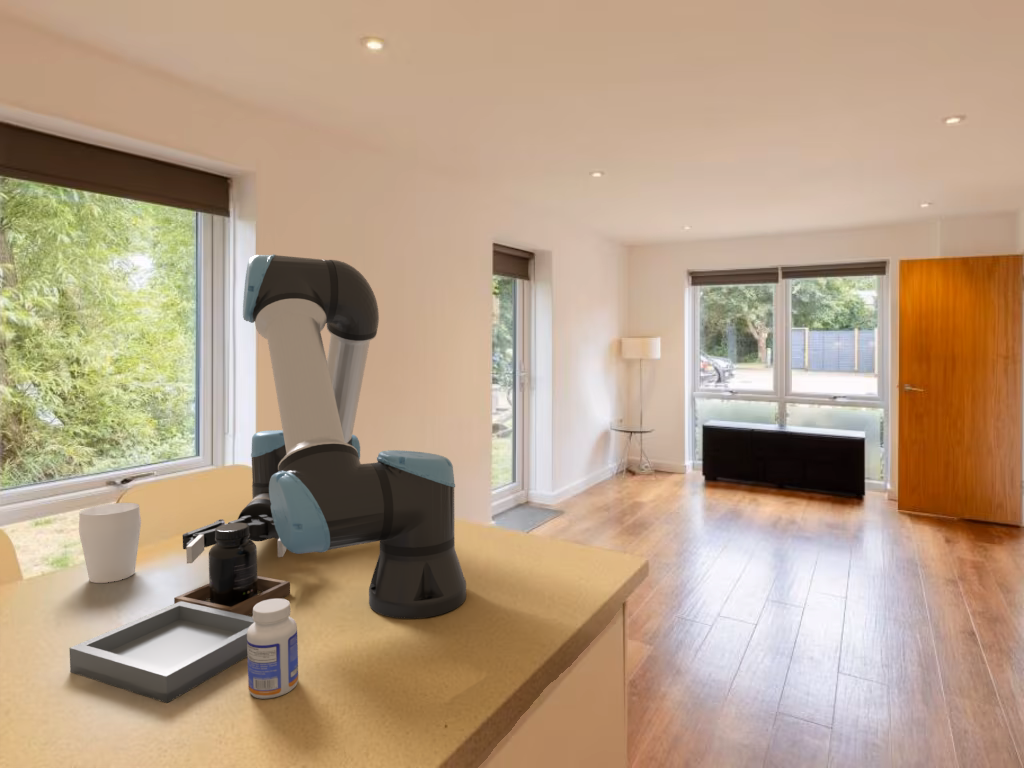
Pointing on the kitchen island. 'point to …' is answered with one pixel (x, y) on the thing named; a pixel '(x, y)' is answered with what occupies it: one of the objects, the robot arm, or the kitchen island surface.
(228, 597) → the supplement bottle
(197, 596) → the bottle holder
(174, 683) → the tray
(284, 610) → the pill bottle
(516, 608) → the kitchen island surface
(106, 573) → the cup
